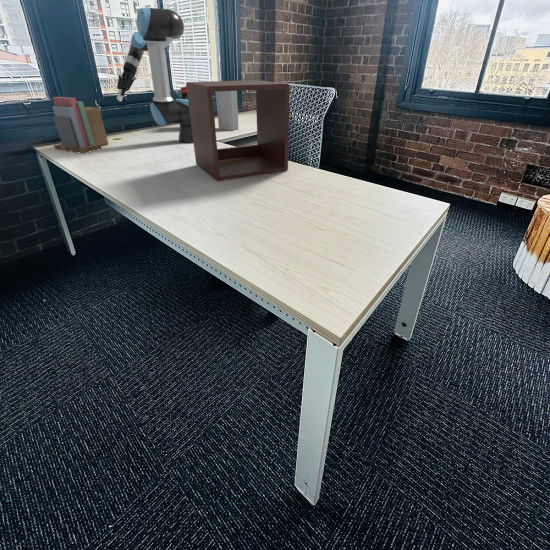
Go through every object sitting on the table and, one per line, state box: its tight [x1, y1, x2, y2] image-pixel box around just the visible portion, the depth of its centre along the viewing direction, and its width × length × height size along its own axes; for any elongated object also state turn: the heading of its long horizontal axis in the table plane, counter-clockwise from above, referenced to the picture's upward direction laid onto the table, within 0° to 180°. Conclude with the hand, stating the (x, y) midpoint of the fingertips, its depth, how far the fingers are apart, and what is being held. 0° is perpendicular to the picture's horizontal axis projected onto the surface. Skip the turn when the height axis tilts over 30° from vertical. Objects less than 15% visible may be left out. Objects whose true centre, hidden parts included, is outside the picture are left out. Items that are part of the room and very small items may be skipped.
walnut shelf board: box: [53, 143, 102, 154], centre depth 189 cm, size 24×12×2 cm, turn 64°
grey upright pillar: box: [215, 91, 240, 132], centre depth 234 cm, size 14×6×30 cm, turn 58°
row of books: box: [52, 96, 95, 148], centre depth 183 cm, size 15×10×24 cm
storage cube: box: [185, 79, 291, 182], centre depth 148 cm, size 35×29×35 cm
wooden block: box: [84, 106, 109, 147], centre depth 193 cm, size 10×10×20 cm
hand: (118, 100), depth 204 cm, fingers closed
